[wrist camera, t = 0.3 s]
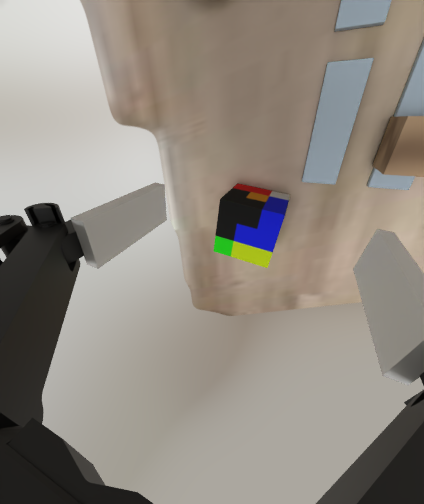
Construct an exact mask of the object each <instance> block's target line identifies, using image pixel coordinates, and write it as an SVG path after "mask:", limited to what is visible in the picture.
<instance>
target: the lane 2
mask: <svg viewBox="0 0 424 504" xmlns="http://www.w3.org/2000/svg"><path fill="white" fill-rule="evenodd" d="M398 116H424V39H423V42H422V44H421V47H420V49H419V52H418V55H417V57H416V60H415V62H414V65H413V67H412V70H411V73H410V75H409V78H408V80H407V83H406V85H405V88H404V91H403V93H402V96H401V98H400V101H399V103H398V106H397V109H396V111H395V114H394V116H393V117H398ZM414 178H415V176H399V175H383V174H382V173H381V172H380V171H378V170H377V169H376V168H373V170H372V173H371V176H370V178H369V181H368V183H367V186H368V187H375V188H388V189H401V190H409V188H410V186H411V184H412V182H413V180H414Z"/></svg>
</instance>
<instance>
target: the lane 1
mask: <svg viewBox="0 0 424 504" xmlns="http://www.w3.org/2000/svg"><path fill="white" fill-rule="evenodd" d="M390 3H391V0H341V4H340V8H339V13H338V18H337V22H336V27H335V31H334V32H336V31H343V30H350V29H357V28H364V27H371V26H379V25H383V24H384V22H385V20H386V17H387V13H388V10H389V7H390Z"/></svg>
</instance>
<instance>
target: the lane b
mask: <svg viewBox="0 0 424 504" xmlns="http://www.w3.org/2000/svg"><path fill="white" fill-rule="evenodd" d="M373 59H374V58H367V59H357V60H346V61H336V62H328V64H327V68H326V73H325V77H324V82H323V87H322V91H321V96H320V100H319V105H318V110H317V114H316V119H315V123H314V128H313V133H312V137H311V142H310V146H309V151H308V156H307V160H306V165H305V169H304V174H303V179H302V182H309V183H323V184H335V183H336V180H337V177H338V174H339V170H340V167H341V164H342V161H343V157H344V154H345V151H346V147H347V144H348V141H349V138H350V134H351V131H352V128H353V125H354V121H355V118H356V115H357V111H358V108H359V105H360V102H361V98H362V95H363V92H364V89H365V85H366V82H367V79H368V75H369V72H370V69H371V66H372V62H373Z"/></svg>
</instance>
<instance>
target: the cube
mask: <svg viewBox="0 0 424 504" xmlns="http://www.w3.org/2000/svg"><path fill="white" fill-rule="evenodd" d="M372 166H373V167H374V168H376V169H377V170H378V171H380V172H381V173H382V174H383V175H399V176H416V177H424V116H398V117H391V118H390V121H389V124H388V126H387V129H386V131H385V134H384V137H383V139H382V142H381V144H380V147H379V150H378V152H377V155H376V157H375V160H374V163H373V165H372Z"/></svg>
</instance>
